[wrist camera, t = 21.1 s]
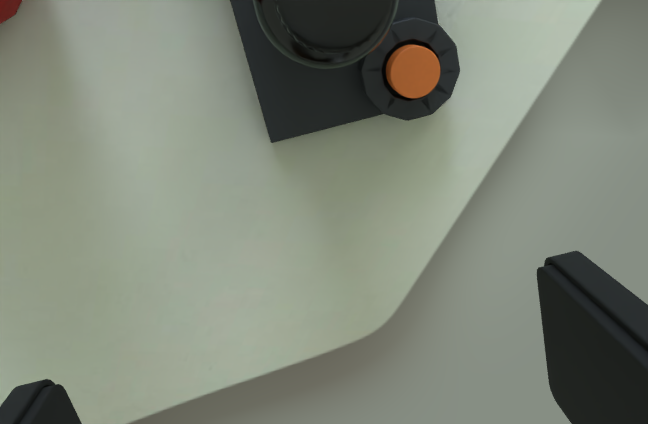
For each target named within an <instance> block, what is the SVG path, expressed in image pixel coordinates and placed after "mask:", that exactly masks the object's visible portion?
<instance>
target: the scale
mask: <svg viewBox="0 0 648 424" xmlns="http://www.w3.org/2000/svg"><path fill="white" fill-rule="evenodd" d="M230 1H231V5H232V8H233V12H234V15H235V19H236V22H237V26H238V29H239V32H240V36H241V39H242V43H243V46H244V50H245V53H246V57H247V60H248V64H249V67H250V71H251V74H252V78H253V81H254V85H255V88H256V92H257V95H258V99H259V102H260V106H261V109H262V113H263V116H264V120H265V123H266V126H267V130H268V133H269V137H270V140H271V143H273V142H277V141H281V140H285V139H288V138H292V137H296V136H300V135H304V134H308V133H312V132H315V131H319V130H323V129H327V128H331V127H335V126H339V125H342V124H346V123H350V122H354V121H358V120H362V119H366V118H370V117H373V116H377V115H381V114H385V115H389V116H392V117H396V118H399V119H403V120H412V119H416V118H420V117H423V116H427V115H431V114H433V113H434V112H435V111H436V110H437V109H438V108H439V107H440V106H441V105H442V104H444V103H445V102H446V101H447V100H448V99H449V98H450V97H451V95H452V92H453V89H454V87H455V84H456V81H457V78H458V76H459V73H460V68H459V61H458V55H457V48H456V46H455V43H454V42H453V41H452V39H451V38H450V37H449V36H448V35H447V33H446V32H445V31H444V30H443V29H442V27H441V26H439V25H438V20H437V14H436V7H435V1H434V0H399V3H398V8H397V12H396V15H395V18H394V21H393V23H392V26H391V28H390V30H389V31H388V33H387V35H386V36H385V38H384V39H383V40H382V42H381V43H380V44H379V45H378V46H377V47H376V48H375V49H374V50H373V51H372V52H371V53H370V54H368V55H367V56H366V57H364V58H363V59H361V60H359V61H357V62H355V63H353V64H351V65H348V66H345V67H341V68H335V69H317V68H311V67H308V66H304V65H302V64H299V63H297V62H295V61H293V60H291V59H290V58H288V57H286V56H285V55H284V54H282V53H281V52H280V51H279V50H278V49H277V48H276V47H275V46H274V45H273V44H272V43H271V42H270V40H269V39H268V38H267V36H266V35H265V33H264V31H263V30H262V28H261V26H260V23H259V21H258V18H257V16H256V12H255V8H254V2H253V0H230ZM405 45H418V46H422V47H425V48H427V49H429V50H431V51H432V52H433V53H434V54H435V55H436V57H437V59H438V61H439V64H440V77H439V80H438V83H437V85H436V86H435V88H434V89H433V90H432V91H431V92H430V93H428V94H427V95H425V96H423V97H420V98H407V97H404V96H402V95H401V94H399V93H398V92H396V91H395V90H394V89H393V88H392V87H391V86H390V85H389V83H388V81H387V78H386V65H387V62H388V60H389V58H390V56H391V55H392V54H393V52H394V51H396V50H397V49H398V48H400V47H402V46H405Z"/></svg>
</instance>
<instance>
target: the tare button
mask: <svg viewBox="0 0 648 424" xmlns="http://www.w3.org/2000/svg"><path fill="white" fill-rule="evenodd" d="M439 77H440V64H439V61H438V59H437V57H436V55H435V54H434V53H433V52H432V51H431V50H429V49H427V48H425V47H422V46H418V45H405V46H402V47H400V48H398V49H397V50H396V51H394V52H393V54H392V55H391V56H390V58H389V60H388V62H387V65H386V78H387V81H388V83H389V85H390V86H391V87H392V88H393V89H394V90H395V91H396V92H398V93H399V94H401V95H402V96H404V97H407V98H420V97H423V96H425V95H427V94H428V93H430V92H431V91H432V90H433V89H434V88H435V86H436V85H437V83H438V80H439Z"/></svg>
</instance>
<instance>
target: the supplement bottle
mask: <svg viewBox="0 0 648 424" xmlns="http://www.w3.org/2000/svg"><path fill="white" fill-rule="evenodd" d="M253 2H254V8H255V12H256V16H257V18H258V21H259V23H260V26H261V28H262V30H263V31H264V33H265V35H266V36H267V38H268V39H269V40H270V42H271V43H272V44H273V45H274V46H275V47H276V48H277V49H278V50H279V51H280V52H281V53H282V54H284V55H285V56H286V57H288V58H290V59H291V60H293V61H295V62H297V63H299V64H302V65H304V66H308V67H311V68H317V69H335V68H341V67H345V66H348V65H351V64H353V63H355V62H357V61H359V60H361V59H363V58H364V57H366V56H367V55H368V54H370V53H371V52H372V51H373V50H374V49H375V48H376V47H377V46H378V45H379V44H380V43H381V42H382V40H383V39H384V38H385V36H386V35H387V33H388V31H389V30H390V28H391V26H392V23H393V21H394V18H395V15H396V12H397V8H398V3H399V0H253Z"/></svg>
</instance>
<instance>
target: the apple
mask: <svg viewBox="0 0 648 424" xmlns="http://www.w3.org/2000/svg"><path fill="white" fill-rule="evenodd" d="M21 2H22V0H0V24H1V23H3V22H4V21H6V20H7V19H9V18H11V17H12V16H14V15H15V14H16V12H17V10H18V8H19V6H20V4H21Z"/></svg>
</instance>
